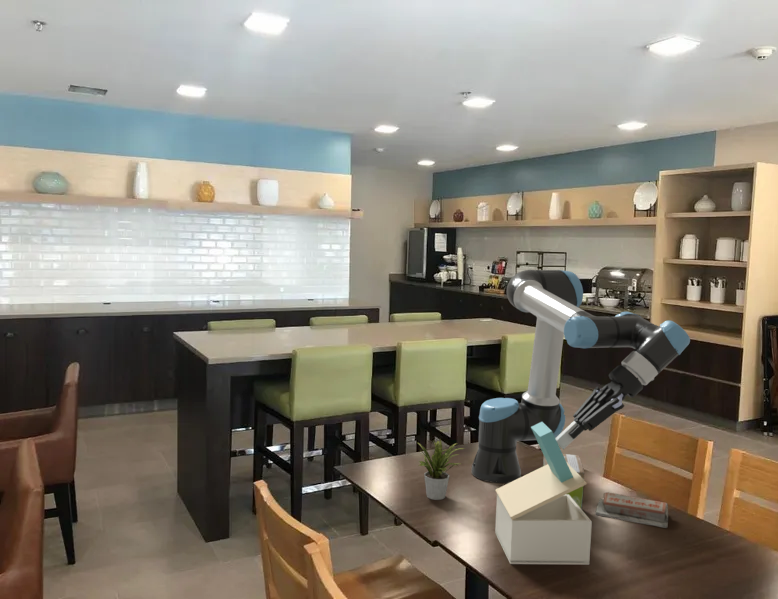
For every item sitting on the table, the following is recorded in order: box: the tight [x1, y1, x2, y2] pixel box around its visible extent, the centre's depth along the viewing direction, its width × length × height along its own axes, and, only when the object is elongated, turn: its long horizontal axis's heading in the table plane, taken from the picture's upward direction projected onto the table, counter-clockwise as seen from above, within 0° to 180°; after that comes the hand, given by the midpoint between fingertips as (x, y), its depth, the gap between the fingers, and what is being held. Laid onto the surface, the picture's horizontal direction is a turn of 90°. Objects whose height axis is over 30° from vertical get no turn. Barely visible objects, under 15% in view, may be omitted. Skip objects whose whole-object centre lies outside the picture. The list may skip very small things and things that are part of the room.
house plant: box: [417, 438, 465, 501], centre depth 184 cm, size 14×14×16 cm
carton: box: [494, 493, 593, 566], centre depth 155 cm, size 18×16×10 cm
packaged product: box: [595, 492, 669, 529], centre depth 177 cm, size 18×5×10 cm
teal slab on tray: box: [495, 422, 587, 520], centre depth 154 cm, size 18×16×13 cm
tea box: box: [542, 453, 585, 510], centre depth 175 cm, size 15×10×15 cm
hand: (558, 444), depth 153 cm, fingers closed
